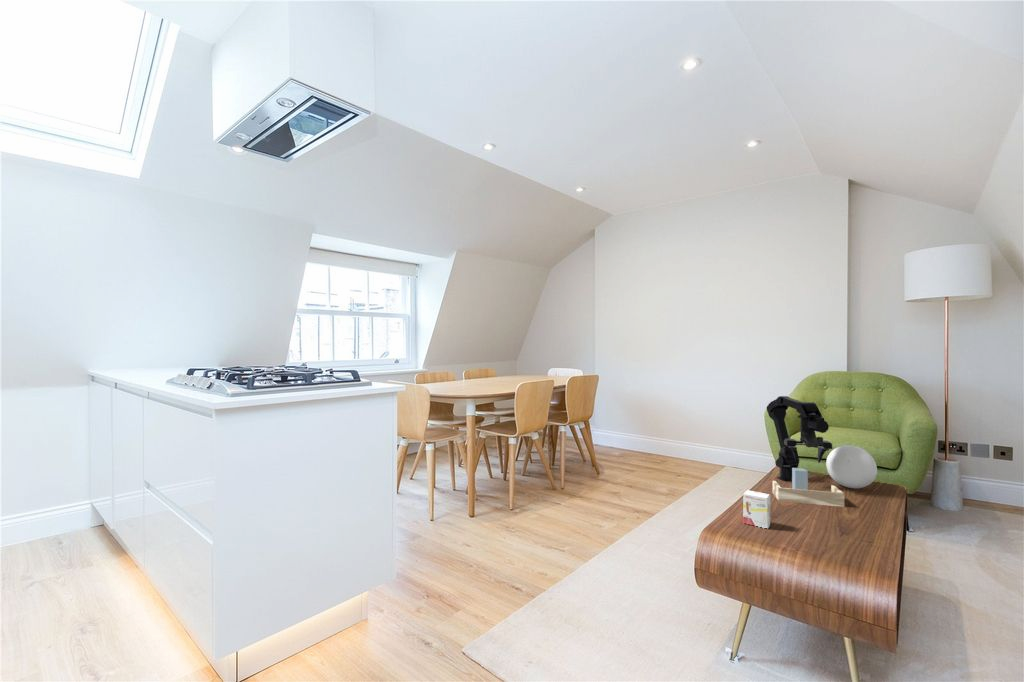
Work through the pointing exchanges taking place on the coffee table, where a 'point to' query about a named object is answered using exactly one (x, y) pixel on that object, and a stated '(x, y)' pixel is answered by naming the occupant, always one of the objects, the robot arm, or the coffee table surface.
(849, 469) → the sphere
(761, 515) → the ink box
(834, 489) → the birch crate
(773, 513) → the coffee table surface
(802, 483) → the pale blue block
